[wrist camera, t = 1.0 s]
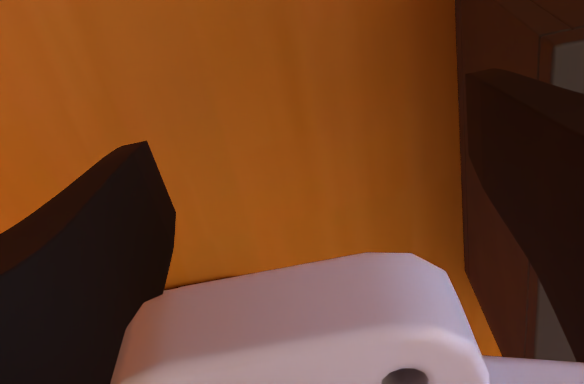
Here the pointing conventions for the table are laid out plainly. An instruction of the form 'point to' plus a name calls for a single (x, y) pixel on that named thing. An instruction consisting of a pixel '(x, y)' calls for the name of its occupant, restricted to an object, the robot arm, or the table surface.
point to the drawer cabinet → (476, 205)
